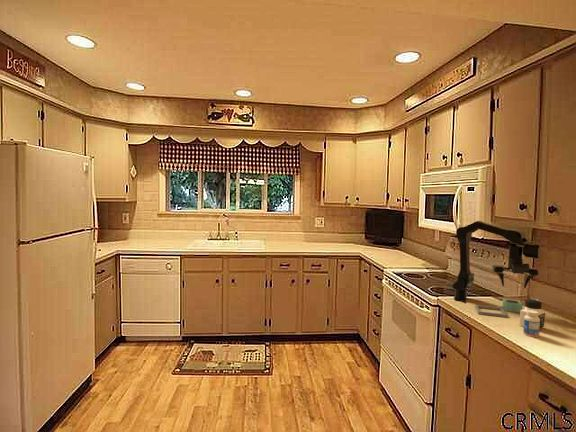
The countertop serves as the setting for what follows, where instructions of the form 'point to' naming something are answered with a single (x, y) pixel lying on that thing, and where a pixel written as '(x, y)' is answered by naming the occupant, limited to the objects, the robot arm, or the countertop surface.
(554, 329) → the countertop surface
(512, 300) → the brown peg stand
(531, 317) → the pill bottle
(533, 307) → the labeled white jar
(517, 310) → the ring
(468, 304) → the countertop surface
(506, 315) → the tray
